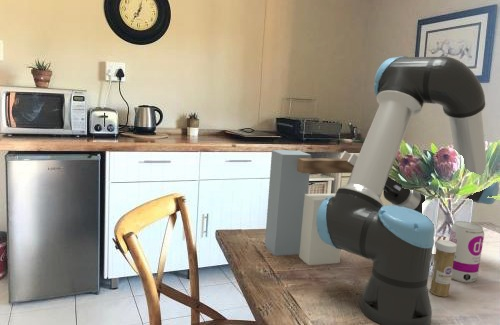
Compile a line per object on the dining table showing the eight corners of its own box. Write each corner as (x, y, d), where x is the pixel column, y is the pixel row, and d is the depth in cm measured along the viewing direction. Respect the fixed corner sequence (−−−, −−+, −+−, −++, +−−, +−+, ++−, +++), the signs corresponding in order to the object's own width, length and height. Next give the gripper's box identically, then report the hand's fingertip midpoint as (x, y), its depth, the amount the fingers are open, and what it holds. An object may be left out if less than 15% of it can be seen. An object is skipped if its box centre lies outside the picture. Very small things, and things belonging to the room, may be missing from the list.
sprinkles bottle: (440, 298, 104) (448, 246, 102) (425, 290, 108) (432, 240, 106) (453, 295, 106) (461, 244, 104) (437, 287, 110) (444, 238, 108)
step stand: (313, 243, 137) (322, 151, 132) (339, 262, 122) (350, 160, 117) (264, 246, 131) (271, 150, 126) (285, 267, 116) (294, 159, 111)
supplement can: (483, 281, 116) (492, 229, 113) (461, 285, 112) (469, 230, 110) (459, 269, 123) (467, 219, 120) (437, 272, 120) (445, 221, 117)
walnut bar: (364, 170, 125) (366, 158, 124) (371, 172, 122) (373, 160, 121) (296, 170, 118) (297, 158, 117) (302, 173, 115) (303, 160, 114)
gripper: (413, 213, 121) (355, 173, 112) (378, 198, 136) (325, 162, 128) (426, 190, 121) (370, 149, 112) (390, 178, 136) (338, 140, 128)
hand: (346, 156), depth 120 cm, fingers closed on walnut bar, 3 cm apart
